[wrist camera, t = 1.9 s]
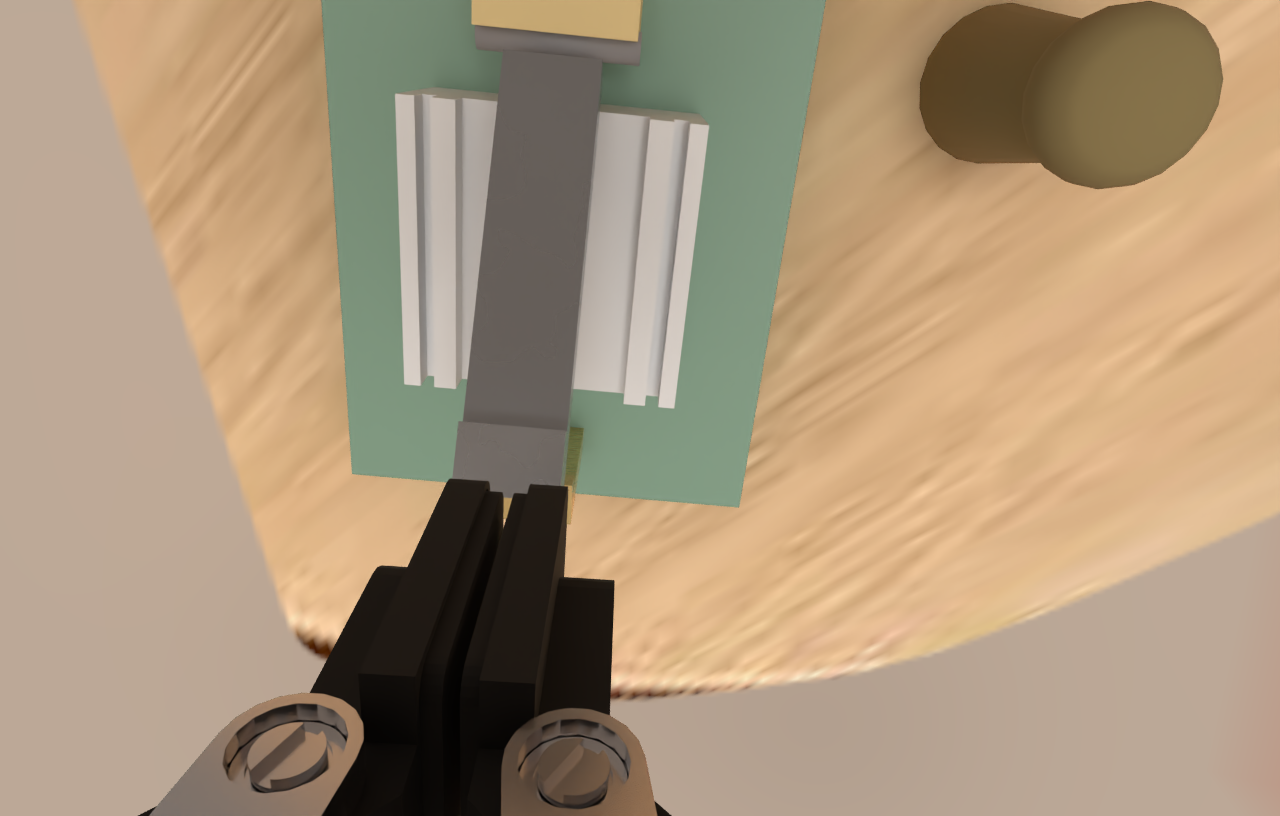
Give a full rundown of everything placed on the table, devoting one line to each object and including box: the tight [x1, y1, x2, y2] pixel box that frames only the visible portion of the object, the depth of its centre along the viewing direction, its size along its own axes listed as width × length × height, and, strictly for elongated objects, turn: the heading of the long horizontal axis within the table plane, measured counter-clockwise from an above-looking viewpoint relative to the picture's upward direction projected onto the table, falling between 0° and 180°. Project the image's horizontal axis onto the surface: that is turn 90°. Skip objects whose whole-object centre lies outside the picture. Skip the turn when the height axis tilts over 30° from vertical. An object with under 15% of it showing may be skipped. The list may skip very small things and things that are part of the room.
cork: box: [920, 1, 1223, 189], centre depth 27 cm, size 6×6×11 cm
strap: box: [452, 49, 603, 498], centre depth 23 cm, size 13×3×2 cm
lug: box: [503, 427, 584, 524], centre depth 32 cm, size 2×3×6 cm, turn 85°
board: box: [321, 0, 826, 507], centre depth 30 cm, size 24×18×8 cm
